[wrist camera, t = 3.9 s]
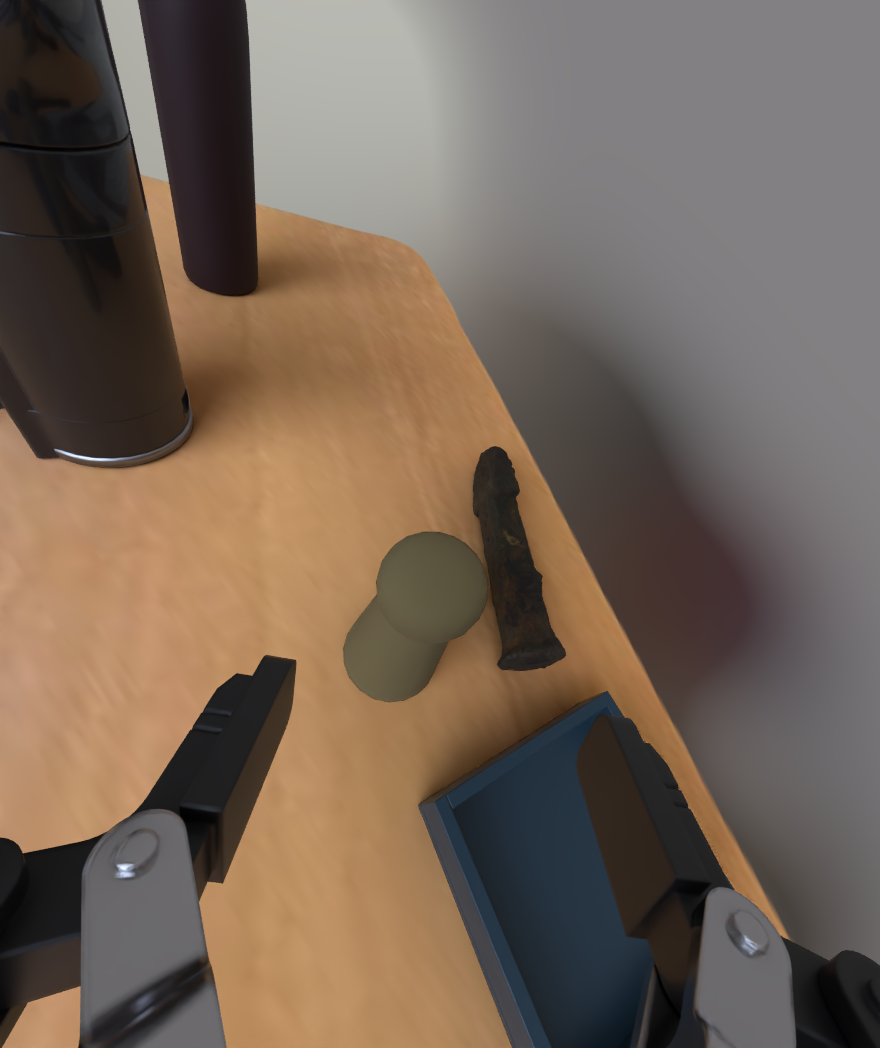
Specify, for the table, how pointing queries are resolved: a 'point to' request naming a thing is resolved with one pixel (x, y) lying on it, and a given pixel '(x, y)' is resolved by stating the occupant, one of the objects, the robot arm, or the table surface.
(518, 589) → the rusty railroad spike
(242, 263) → the wine bottle
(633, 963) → the caddy
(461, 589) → the cork
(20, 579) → the table surface
